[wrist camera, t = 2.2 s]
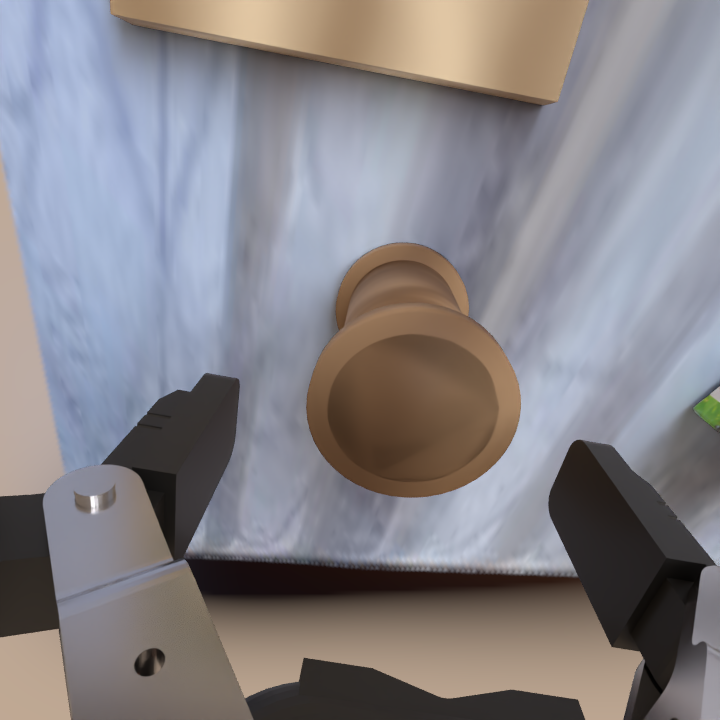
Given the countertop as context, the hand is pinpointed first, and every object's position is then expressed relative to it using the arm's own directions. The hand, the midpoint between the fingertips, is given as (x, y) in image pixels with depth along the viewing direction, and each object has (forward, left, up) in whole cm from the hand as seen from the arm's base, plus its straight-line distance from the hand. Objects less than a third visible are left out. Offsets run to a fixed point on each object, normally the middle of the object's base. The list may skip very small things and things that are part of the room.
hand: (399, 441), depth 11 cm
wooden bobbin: (0, 0, -10) cm, 10 cm away
